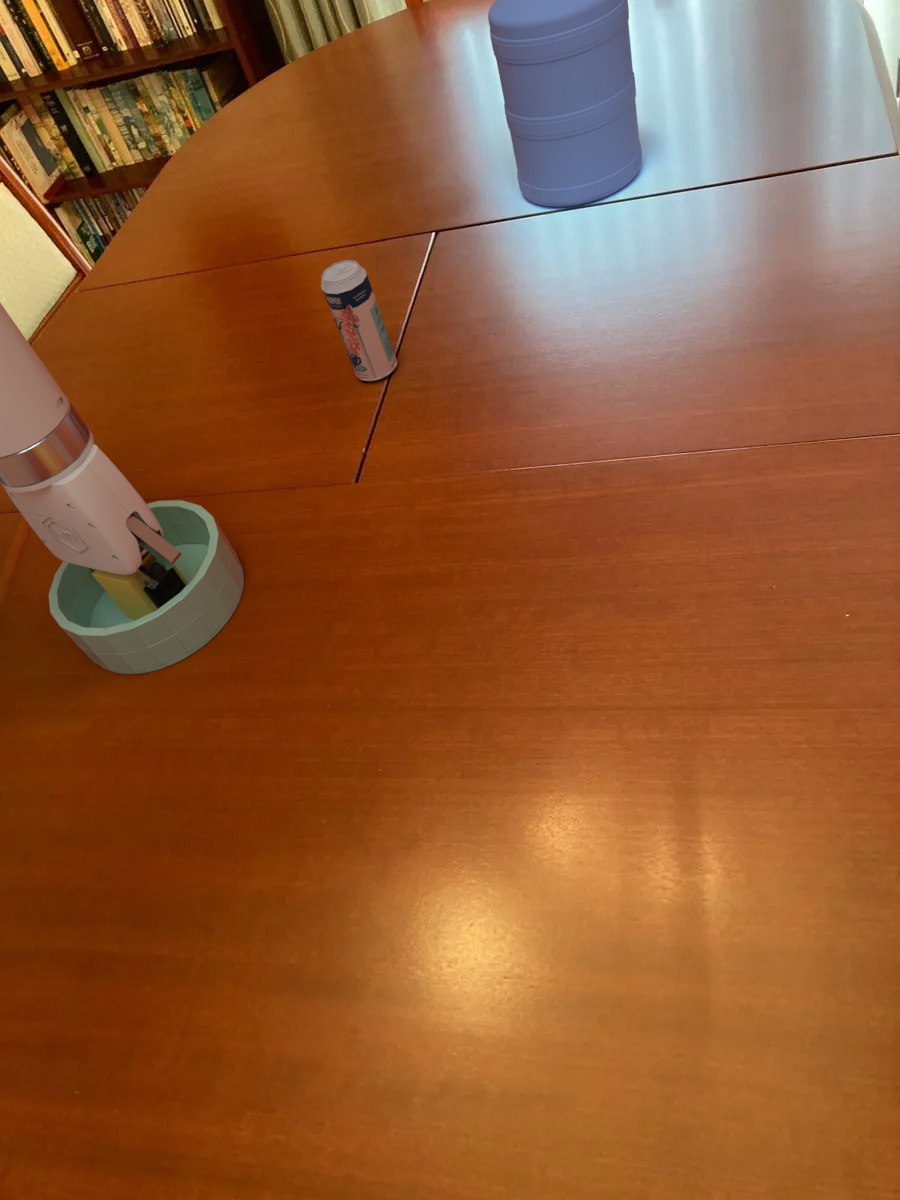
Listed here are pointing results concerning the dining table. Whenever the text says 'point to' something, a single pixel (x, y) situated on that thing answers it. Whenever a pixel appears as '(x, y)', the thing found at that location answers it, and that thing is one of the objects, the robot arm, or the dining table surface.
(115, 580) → the sponge
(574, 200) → the water jug
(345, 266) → the beer can
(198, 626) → the bowl
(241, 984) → the dining table surface
